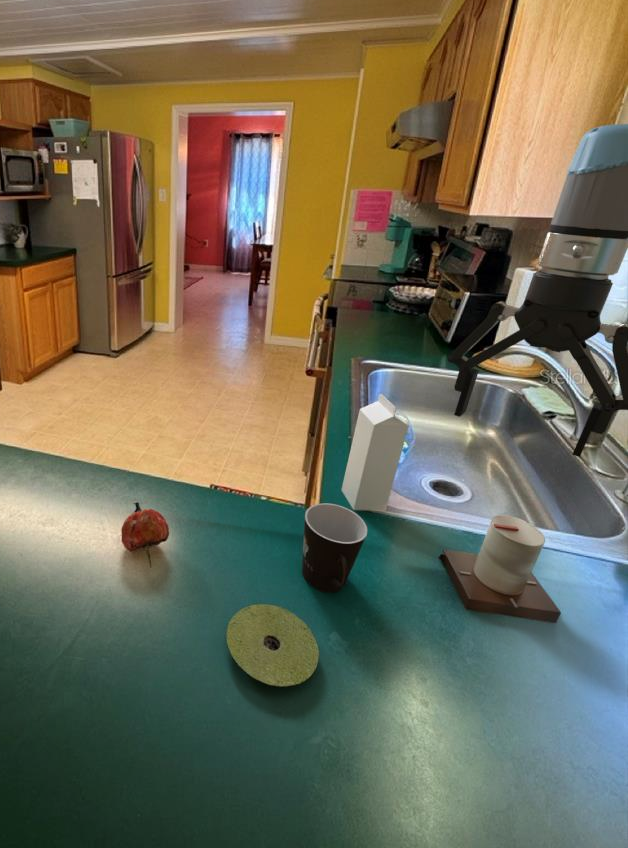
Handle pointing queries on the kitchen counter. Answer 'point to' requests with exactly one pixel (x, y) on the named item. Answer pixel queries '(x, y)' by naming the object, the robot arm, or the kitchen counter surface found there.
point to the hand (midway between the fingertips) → (514, 431)
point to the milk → (374, 456)
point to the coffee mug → (331, 545)
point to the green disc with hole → (272, 645)
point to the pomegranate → (144, 530)
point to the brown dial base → (485, 599)
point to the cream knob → (508, 554)
